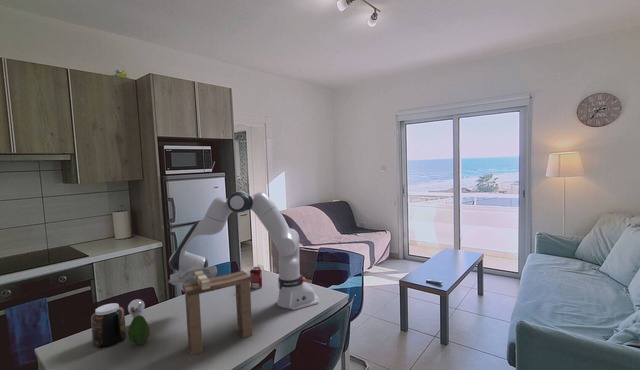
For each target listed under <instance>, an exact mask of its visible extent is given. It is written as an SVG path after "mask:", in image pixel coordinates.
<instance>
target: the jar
mask: <svg viewBox="0 0 640 370" xmlns="http://www.w3.org/2000/svg"><path fill="white" fill-rule="evenodd" d="M94 311H95V312H94V313H93V314H92V315H91V317H90V323H91V325H90V327H91V337H92V346H93V348H95V349H106V348H111V347H114V346H115V345H118V344H120V343H122V342H123V341H124V340H125V339H126V338H127V332H126V329H127V328H126V318H125V317H126V315H125V310H124V307H121V306H120V304H119V303H115V302H114V303H112V302H111V303H107V304H103V305H101V306H99V307H97V308H95V310H94Z"/></svg>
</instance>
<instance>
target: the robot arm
mask: <svg viewBox="0 0 640 370" xmlns="http://www.w3.org/2000/svg"><path fill="white" fill-rule="evenodd" d="M250 210H251V211H252V212H253V213H254V214H255V216H256V217H257V218H258V220H259V221H260V222H261V224H262V225H263V226H264V227H265V230H266V231H267V232H268V235H269V237H270V239H271V241H272V243H273V244H274V245H275V248H276V250H277V253H278V278H277V280H278V282H277V283H278V284H277V286H278V297H277V302H276V305H277V306H278V307H280V308H283V309H289V310H293V311H294V310H300V309H302V308H305V307H310V306H314V305H317V304H319V303H320V299H319V296H318V295H317V294H316V293H315V290H314V289H313V286H311V285H309V284H308V283H306V281H307V280H306V278H305V277H304V276H303V275H302V274H301V273H300V271H301V270H300V235H299V233H298V232H297V230H296V229H294V228H290V226H289V225H288V223H287V221H286V218H285V217H284V216H283V214H282V212H281V211H280V209H279V208H278V207H277V206H276V204H275V202H273V201H272V199H271V198H270V197H269V196H268V195H267V193H265V192H263V191H261V192H256V193H255V194H252V195H250V193H248V192H246V191H243V190H238V191H237V190H236V191H234V192H232V193H231V194H230V195H229V196H228V198H225V197H215V198H214V199H213V200H212V202H210V205H209V207H208V208H207V210H206V213H205V215H204V217H203V218H202V219H201V220H200V221H197V222H194V224H193V225H192V226H191V227H190V228H189V231H187V233H186V234H185V236H184V237H183V239H182V241H181V242H180V244H179V246H178V247H177V248H176V249H175V251H174V252H173V253H172V254H171V256H170V258H169V260H168V266H169V267H170V269H171V270H173V271H177V273H172V274H170V275H169V277H170V279H168V283H169V284H171V285H173V286H174V285H178V284H179V288H180V289H181V291H182V292H184V290H183V285H182V284H184V283H189V282H194V281H196V280H195V278H194V277H193V273H192V269H194V268H200V269H201V270H202V272H203V273H204V274H205V275H206V276H207V278H212V277H216V275H217V274H218V270H217V265H212V266H209V262H208V259H207V257H204V256H202V255H198V254H194V253H191V252H188V251H187V249H188V247H189V246H190V245H191V243H192V241H193V240H194V239H195V238H196V237H200V236H212V235H216V234H219V233H221V232H222V231H223V229H224V227H225V226H226V224H227V221H228V218H229V216H230V215H231V213H238V214H239V213H244V212H246V211H250ZM178 271H179V272H178Z"/></svg>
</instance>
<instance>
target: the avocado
mask: <svg viewBox="0 0 640 370" xmlns="http://www.w3.org/2000/svg"><path fill="white" fill-rule="evenodd" d="M150 332H151V331H150V326H149V324H148V322H147V320H146V318H145V317H144V316H141V315H138V316H136V317H135V318H134V319H133V318H132V320H131V322H130V325H129V328H128V332H127V338H128V340H129V342H130V343H132V344H134V345H142V344H144V343H146V341H147V340H148V339H149V335H150Z"/></svg>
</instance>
